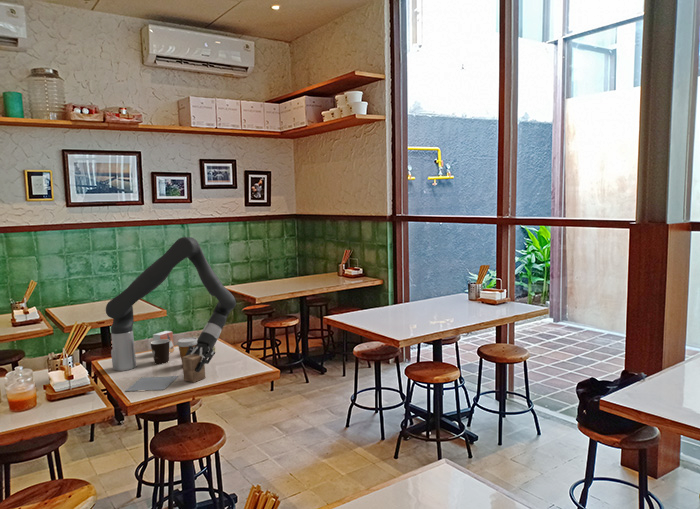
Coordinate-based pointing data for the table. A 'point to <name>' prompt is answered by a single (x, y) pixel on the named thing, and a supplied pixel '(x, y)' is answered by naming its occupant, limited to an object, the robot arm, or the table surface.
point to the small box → (165, 335)
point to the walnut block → (192, 368)
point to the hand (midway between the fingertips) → (190, 370)
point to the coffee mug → (160, 350)
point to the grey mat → (152, 383)
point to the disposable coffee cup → (186, 345)
